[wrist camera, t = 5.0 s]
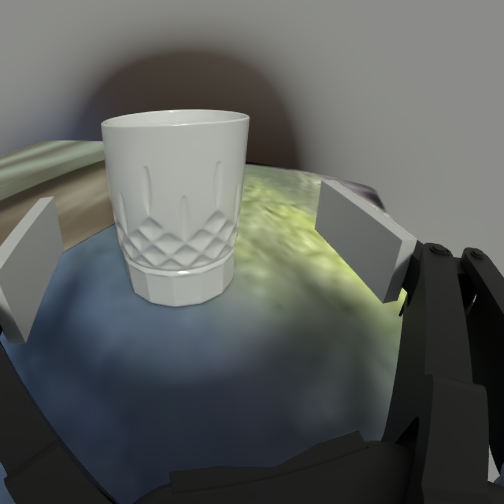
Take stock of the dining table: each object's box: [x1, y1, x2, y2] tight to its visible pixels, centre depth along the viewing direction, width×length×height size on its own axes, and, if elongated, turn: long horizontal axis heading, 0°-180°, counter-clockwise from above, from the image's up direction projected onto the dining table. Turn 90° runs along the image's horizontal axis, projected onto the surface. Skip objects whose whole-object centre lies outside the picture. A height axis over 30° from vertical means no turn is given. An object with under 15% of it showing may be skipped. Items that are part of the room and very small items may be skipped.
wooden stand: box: [0, 141, 115, 252], centre depth 23 cm, size 14×14×7 cm
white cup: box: [101, 110, 250, 307], centre depth 18 cm, size 8×8×10 cm
